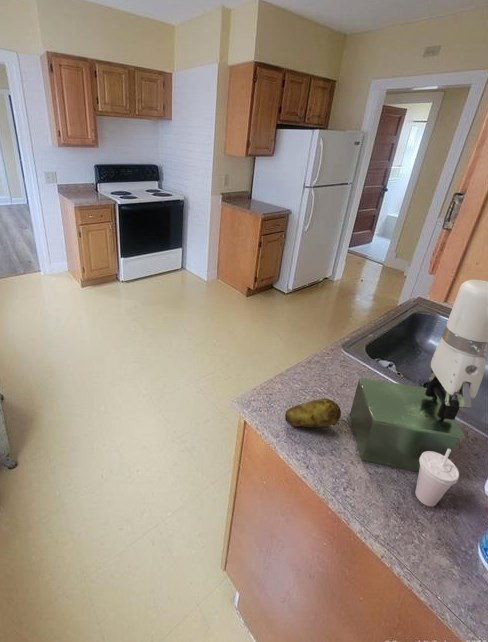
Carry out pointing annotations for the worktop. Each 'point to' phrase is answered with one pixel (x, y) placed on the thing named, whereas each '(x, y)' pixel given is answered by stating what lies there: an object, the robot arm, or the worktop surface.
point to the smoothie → (435, 477)
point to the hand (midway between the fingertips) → (438, 406)
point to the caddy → (392, 439)
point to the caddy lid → (408, 407)
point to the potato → (314, 413)
